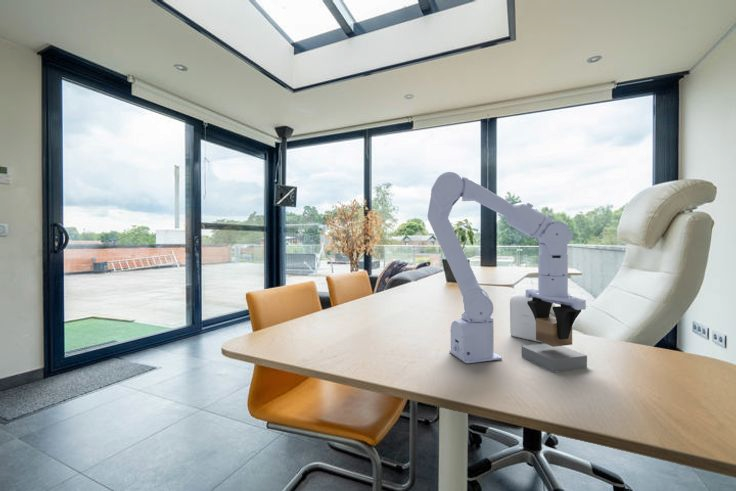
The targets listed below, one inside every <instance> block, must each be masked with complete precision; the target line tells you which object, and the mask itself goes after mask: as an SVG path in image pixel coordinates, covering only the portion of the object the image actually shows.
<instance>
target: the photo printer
mask: <svg viewBox="0 0 736 491" xmlns="http://www.w3.org/2000/svg"><path fill="white" fill-rule="evenodd" d="M527 301H532V298H527V297H526V293H520V294H515V295H512V296H511V297H510V299H509V328H510V330H509V332H510V336H511V337H515V338H519V339H523V340H528V341H534V342H537V343H541V344H543V342H540V341H538V340H536V321H535V318H534V315H533V313H532V311H531V309H530V307H529V305H528V304H527ZM550 314H551V313H550ZM550 314H549V317H551V315H550Z"/></svg>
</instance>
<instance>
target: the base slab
mask: <svg viewBox="0 0 736 491" xmlns="http://www.w3.org/2000/svg"><path fill="white" fill-rule="evenodd" d="M521 358H523V359H525V360H527V361H529V362H531V363H532V364H535V365H537V366H539V367H540V368H543V369H545V370H547V371H549V370H550V371H549V372H551V373H557V372H556V371H559V372H565V370H566V371H572V370H579V369H585V368H584V367H587V368H588V355H586V354H584V353H582V352H578V351H576V350H573V349H570V348H569V347H566V346H555V347H553V346H550V345H548V344H545V343H535V344H529V345H528V344H527V345H521Z"/></svg>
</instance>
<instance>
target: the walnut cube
mask: <svg viewBox="0 0 736 491" xmlns="http://www.w3.org/2000/svg"><path fill="white" fill-rule="evenodd" d="M536 340H538V341H540V342H539V343H542V342H543V343H545V344H548V345H550V346H553V347H555V346H564V347H566V346H573V327H572V328H571V331H570V335H569V338H568V339H562V340H561V339H558V334H557V322H556V317H555V316H550V317H545V318H536ZM543 343H542V344H543Z"/></svg>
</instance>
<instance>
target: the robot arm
mask: <svg viewBox="0 0 736 491" xmlns="http://www.w3.org/2000/svg"><path fill="white" fill-rule="evenodd" d="M430 192H431V193H430V200H429V203H428V204H429V206H428V210H427V219H428V222H429V224H430V227H431V229H432V231H433V233H434V234H435V237H436V239H437V242H438V245H440V248H441V251H442V252H443V254H444V257H445V259H446V261H447V264H448V265H449V268H450V270H451V272H452V275H453V277H454V280H455V281H456V283H457V286H458V288H459V291H460V294H461V296H462V298H463V299H462V303H463V310H464V312H463V313H462V314H461V318H459V319H456V320H453V321H452V323H451V324H450V349H449V350H448V351H449V353H451V354H452V355H453V356H455V357H456V358H458V359H459V360H460V361H462V362H463V363H465V364H474V363H482V362H490V361H497V360H502V359H503V358H502V356H501V355H499V354H498V353H496V352H495V351H494V346H495V344H494V340H495V339H494V317H493V316H492V315H493V313H494V304H493V301H492V299H491V298H490V297H489V294H488V293H487V292H486V291H485V290H484V289H483V288H481V285H480V284H479V282H478V280H477V277H476V275H475V272H474V271H473V268H472V266H471V265H470V262H469V260H468V258H467V256H466V254H465V252H464V249H463V248H462V246H461V243H460V241H459V238H458V236H457V234H456V232H455V230H454V227H453V226H452V223H451V222H450V219H449V217H450V215H451V212H452V209H453V206H454V205H456V203H457V202H458V201H459V200H460V198H461V197H462V198H461V201H462V202H476V203H478V204H479V205H482V206H484V207H486V208H488V209H490V210H492V211H493V212H495V213H497V214H499V215H502V216H503V217H504V218H505V221H506V224H507V225H508V226H509V227H512V228H514V229H515V230H516V231H518V232H521V233H523V234H524V235H526V236H528V237H530V238H531V239H535V242H537V244H538V255H537V257H538V259H537V261H538V264H537V268H538V272H537V274H538V275H537V276H538V277H537V279H538V281H537V283H538V286H537V287H538V288H537V289H533V288H532V289H531V288H530V289H525V294H526V297H527V298H532V301H527V304H528V305H529V307H530V309H531V311H532V313H533V315H534V318H535V321H536V318H545V317H549V314H551V310H552V311H553V314H554V317H556V322H557V334H558V339H561V340H562V339H568V338H569V335H570V331H571V328H572V329H573V325H574V323H575V321H576V319H577V317H578V316H579V315H580V313H582V310H583V311H584V310H586V309H587V308H586V304H587V302H586V299H583V298H579V297H577V296H572V295H571V294H570V293H568V292H569V288H568V287H569V284H568V283H569V279H568V277H569V276H568V274H569V272H568V271H569V270H568V268H569V267H568V265H569V263H568V262H569V256H568V244H570V242H571V241H572V239H573V233H572V232H571V229H570V228H569V226H568V225H567V224H566V223H565V222H563V221H558V220H555V221H554V220H552V219H553V218H554V217H553V216H552V215H551V214H548V215H546V214H544V213H542V212H540V211H539V210H537V209H535V208H533V207H534V205H533V204H531V203H529V202H526V204H525V203H523V202H518V203H514V204H513V203H511V202H510V201H507V200H506V199H504V198H503V197H501V196H500V195H498V194H496V193H494V192H492V191H491V190H490V189H488V188H486V187H485V186H482V185H481V184H480V183H477V182H476V181H473V180H471V179H470V178H468V177H465V176H462V177H461V176H460V175H459V174H458V173H456V172H453V171H446V172H443V173H441V174H440V175H439V176H438V177H437V179H436V180H435V182H434V183H433V185H432V187H431V190H430ZM553 304H556V305H559V306H553Z"/></svg>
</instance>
